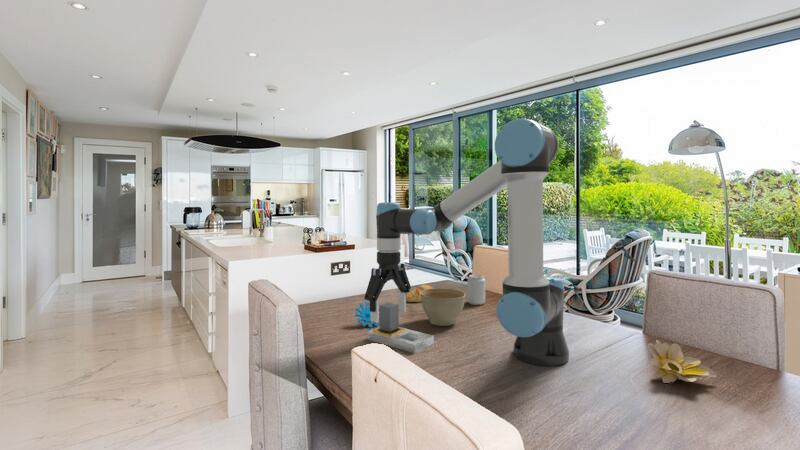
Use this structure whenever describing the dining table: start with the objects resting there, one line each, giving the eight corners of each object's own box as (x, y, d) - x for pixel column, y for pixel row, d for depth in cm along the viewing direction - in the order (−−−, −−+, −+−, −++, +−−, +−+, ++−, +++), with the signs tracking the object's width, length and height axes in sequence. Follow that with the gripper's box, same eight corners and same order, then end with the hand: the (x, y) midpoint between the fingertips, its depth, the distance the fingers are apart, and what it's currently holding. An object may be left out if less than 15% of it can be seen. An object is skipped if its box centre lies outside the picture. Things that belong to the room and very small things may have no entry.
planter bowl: (444, 332, 138) (444, 300, 138) (411, 321, 150) (411, 292, 150) (474, 322, 149) (474, 293, 148) (441, 313, 161) (441, 285, 160)
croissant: (407, 312, 175) (412, 297, 171) (395, 297, 181) (399, 283, 178) (444, 303, 187) (450, 289, 183) (431, 289, 194) (436, 276, 190)
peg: (398, 338, 133) (398, 304, 132) (389, 341, 130) (389, 307, 129) (388, 335, 136) (388, 302, 135) (379, 338, 133) (379, 305, 132)
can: (486, 305, 172) (487, 277, 171) (468, 305, 172) (469, 277, 171) (483, 301, 179) (483, 273, 178) (466, 301, 179) (466, 273, 179)
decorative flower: (684, 391, 93) (677, 345, 94) (638, 382, 103) (633, 341, 105) (725, 384, 98) (718, 341, 100) (678, 377, 109) (673, 338, 110)
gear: (357, 325, 141) (354, 300, 147) (352, 334, 145) (350, 309, 151) (387, 326, 145) (383, 301, 151) (382, 334, 149) (378, 310, 155)
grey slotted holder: (433, 343, 128) (433, 334, 128) (414, 353, 120) (414, 343, 120) (387, 331, 140) (387, 322, 140) (367, 339, 132) (367, 330, 132)
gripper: (403, 246, 143) (403, 306, 144) (352, 254, 123) (353, 323, 125) (421, 247, 138) (421, 309, 140) (370, 256, 119) (371, 328, 120)
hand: (388, 316), depth 132 cm, fingers open, 13 cm apart
